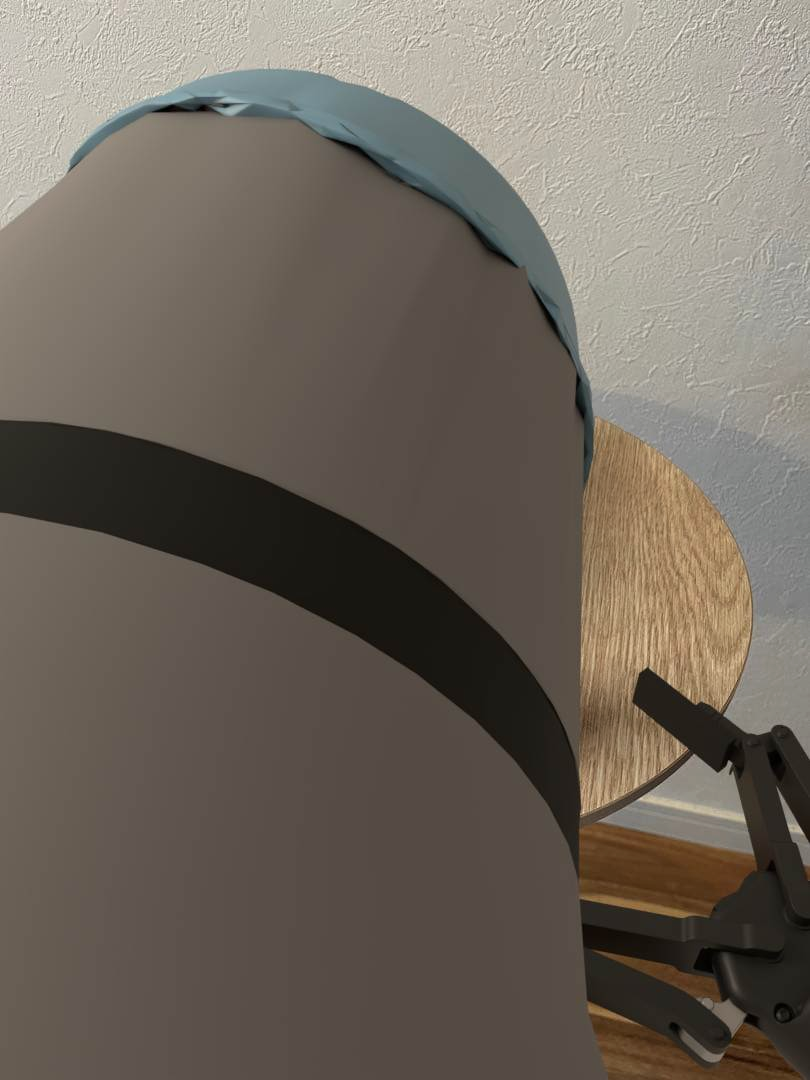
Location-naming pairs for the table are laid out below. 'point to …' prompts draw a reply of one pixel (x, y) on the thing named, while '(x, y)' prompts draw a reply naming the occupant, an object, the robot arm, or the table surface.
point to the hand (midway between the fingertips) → (558, 741)
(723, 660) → the table surface
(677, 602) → the table surface
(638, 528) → the table surface
